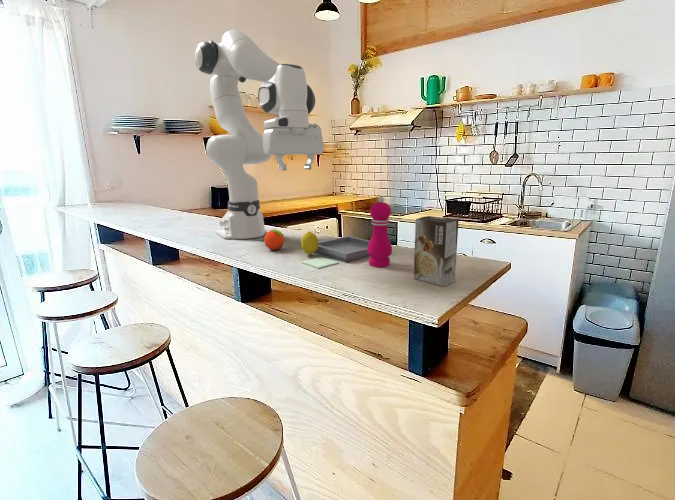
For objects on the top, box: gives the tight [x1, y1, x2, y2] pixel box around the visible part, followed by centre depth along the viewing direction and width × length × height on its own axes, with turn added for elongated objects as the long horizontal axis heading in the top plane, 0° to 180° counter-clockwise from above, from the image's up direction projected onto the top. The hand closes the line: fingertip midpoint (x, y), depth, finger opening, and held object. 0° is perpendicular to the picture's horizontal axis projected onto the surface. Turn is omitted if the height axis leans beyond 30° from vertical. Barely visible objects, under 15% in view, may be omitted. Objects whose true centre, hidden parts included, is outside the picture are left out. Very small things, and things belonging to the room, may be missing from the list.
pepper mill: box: [367, 196, 393, 268], centre depth 109 cm, size 7×7×20 cm
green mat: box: [301, 256, 340, 269], centre depth 113 cm, size 8×8×1 cm
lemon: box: [300, 230, 319, 256], centre depth 121 cm, size 6×6×8 cm
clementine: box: [263, 229, 286, 251], centre depth 128 cm, size 8×7×7 cm
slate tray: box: [314, 235, 371, 263], centre depth 125 cm, size 18×18×3 cm
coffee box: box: [413, 215, 460, 287], centre depth 96 cm, size 9×6×16 cm
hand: (296, 169), depth 115 cm, fingers open, 8 cm apart
